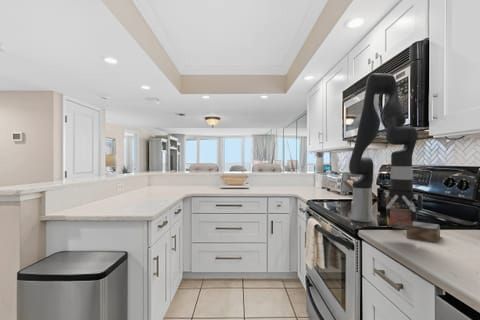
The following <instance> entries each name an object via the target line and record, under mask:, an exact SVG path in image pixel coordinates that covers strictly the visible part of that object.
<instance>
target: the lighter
mask: <svg viewBox="0 0 480 320" xmlns="http://www.w3.org/2000/svg"><path fill="white" fill-rule="evenodd" d="M392 205H394V206H395V207H391V208H390V227H392V228H391V229H401V230H402V229H403V230H404V229H405V230H406V229H413V221H412V210H411V208H410V207H409V206H408V205H407V204H401V203H397V202H394V203H392ZM398 206H399V208H398ZM390 227H389V228H390Z"/></svg>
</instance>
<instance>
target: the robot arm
mask: <svg viewBox="0 0 480 320" xmlns="http://www.w3.org/2000/svg"><path fill="white" fill-rule="evenodd" d="M396 81H397V80H396V78H395V76H394V75H393V74H391V73H377V72H376V73H370V74H369V76H368V78H367V80H366V83H365V92H364V98H363V106H362V110H361V115H360V119H359V122H358V123H359V124H358V128H357V131H356V132H357V133H356V139H355V143H354V146H353V150H352V152H351V156H350V159H349V164H348V170H349V173H350V174H351V175H353V176H354V175H357V176H359V175H361V177H360V178H359V179H357V180H355V181H353V182H352V201H351V202H350V203H351V205H350V206H351V211H350V212H351V221H355V222H358V223H359V222H360V223H361V222H362V223H370V222H371V223H372V222H373V183H374V162H373V159H372V158H370V157H369V156H365V157H364V156H363V155H364V153H365V151H366V149H368V147H369V146H370V145H371V144H372V143H373V142H374V141H375V140H376V138H378V137H377V136H378V134H379V129H380V126H381V120H380V117H379V114H378V112H377V110H376V106H375V95H386V97H387V99H386V101H385V104H384V105H383V108H382V114H383V115H382V116H383V118H384V121H385V124H386V130H385V131H386V133H385V139H386V141H387V143H388V144H390V145H392V146H393V145H394V146H399V145H400V146H401V145H402V146H403V147H402V149H400V150H396V151H393V152H391V155H390V157H391V158H390V163H391V164H390V173H389V174H390V175H389V179H390V183H389V185H390V192H389V191H382V192H381V194H380V196H381V197H380V198H381V199H380V200H381V201H380V202H381V207H384V208H385V210H386V209H387V212H386V217H387V216H388V218H390V208H391V207H392V203H394V202H397V203H401V204H407V205H408V206H409V208H411V210H412V221H413V222H414V221H415V222H416V221H417V219H418V212H421V211H422V210H423V209H424V198H423V197H424V196H423V194H422V193H420V194H416V193H415V194H414V191H413V190H414V189H413V187H414V186H413V185H414V184H413V183H414V175H413V174H414V171H413V153H414V149H415V146H416V144H417V141H418V137H419V136H418V131H417V129H416V128H415V126H414V127H413V126H404V125H406V121H407V120H406V119H407V118H406V116H405V114H404V111H403V109H402V107H401V103H400V99H399V92H398V85H397V82H396ZM388 195H389V196H390V197H391V198H392V200H391V201H390V202H389V204H386V199H387V197H388ZM414 198H415V200H416V201H417V207H416V205H415V204H414V202H413V201H412V200H413V199H414Z"/></svg>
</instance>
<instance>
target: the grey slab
mask: <svg viewBox="0 0 480 320" xmlns="http://www.w3.org/2000/svg"><path fill="white" fill-rule="evenodd" d="M405 231H406V235H405V236H406V238H408V239H414V240H420V241H424V242H432V243H438V241H439V239H440V238H441V226H440V224H437V223H429V222H420V221H416V220H415V221H414V222H413V229H405Z"/></svg>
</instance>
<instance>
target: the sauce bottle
mask: <svg viewBox="0 0 480 320" xmlns="http://www.w3.org/2000/svg"><path fill="white" fill-rule="evenodd" d="M387 192H390V184H388V185H387ZM391 200H392V198H391V197H390V196H389V195H388V197H386V204H389V202H390V201H391ZM392 207H395V206H394V205H392ZM398 208H399V206H398ZM385 210H386V213H387V209H386V208H385ZM386 224H387V227H388V226H390V218H388V216H387V215H386Z"/></svg>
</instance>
